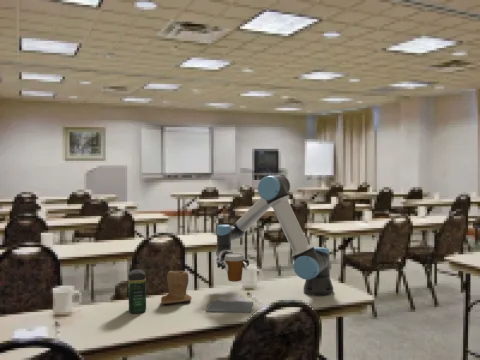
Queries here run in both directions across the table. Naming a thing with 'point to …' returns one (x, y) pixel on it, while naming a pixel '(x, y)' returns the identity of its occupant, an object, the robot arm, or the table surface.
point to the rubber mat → (230, 306)
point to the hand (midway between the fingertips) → (236, 267)
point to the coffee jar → (137, 291)
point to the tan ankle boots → (176, 287)
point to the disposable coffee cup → (234, 266)
